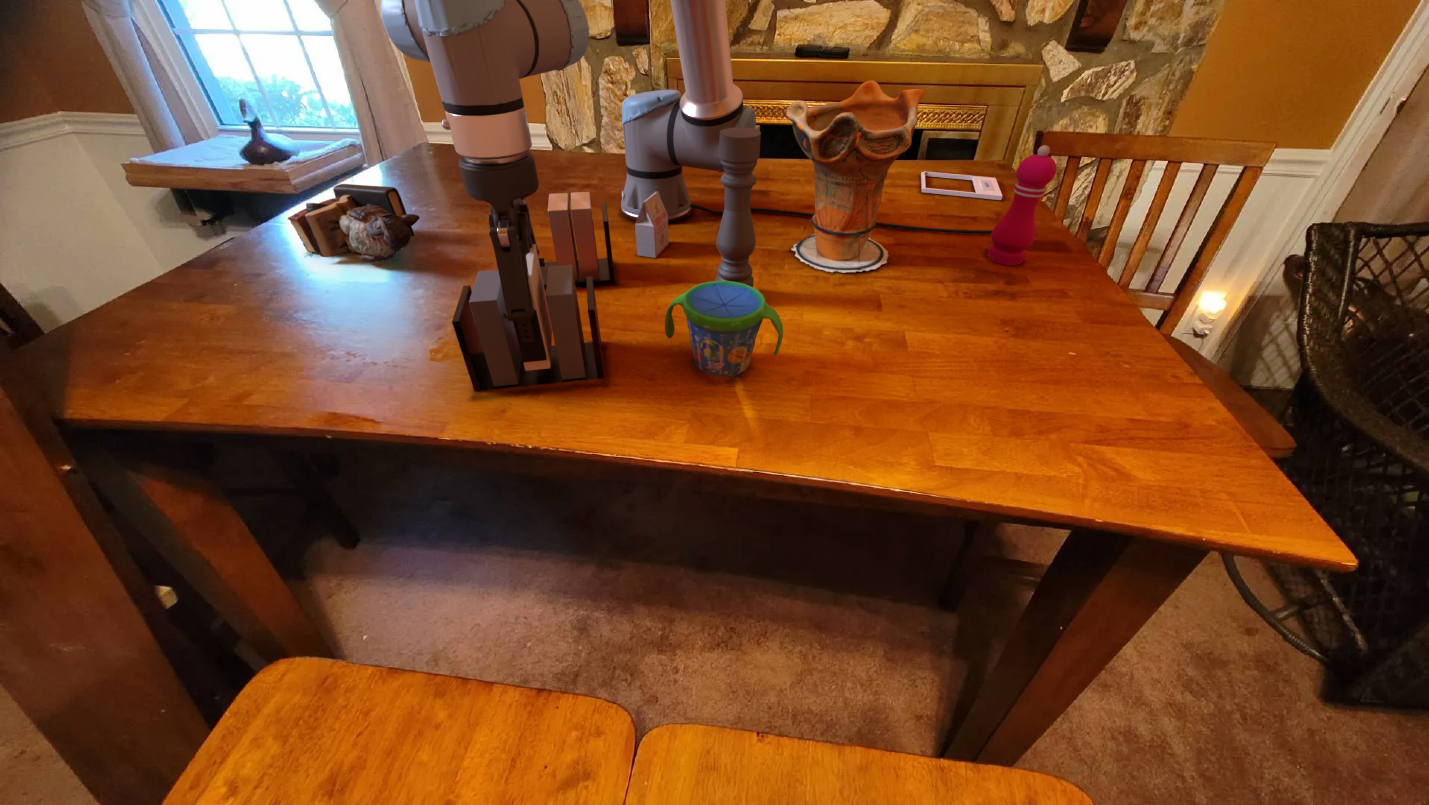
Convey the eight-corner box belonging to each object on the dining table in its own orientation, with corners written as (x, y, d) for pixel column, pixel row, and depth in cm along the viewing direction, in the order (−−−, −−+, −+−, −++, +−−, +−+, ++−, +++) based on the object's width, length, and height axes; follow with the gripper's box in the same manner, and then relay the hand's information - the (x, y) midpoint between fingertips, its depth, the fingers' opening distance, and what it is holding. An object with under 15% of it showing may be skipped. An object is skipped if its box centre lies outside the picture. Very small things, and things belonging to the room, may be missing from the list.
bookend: (341, 182, 106) (443, 183, 98) (365, 238, 112) (463, 243, 104) (268, 204, 95) (376, 208, 87) (300, 265, 101) (404, 273, 93)
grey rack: (602, 346, 79) (592, 275, 72) (604, 384, 72) (594, 309, 65) (484, 358, 76) (463, 285, 69) (476, 397, 70) (451, 321, 63)
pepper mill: (1025, 254, 106) (1069, 143, 94) (1024, 269, 101) (1070, 153, 88) (985, 248, 108) (1022, 137, 96) (982, 262, 103) (1021, 147, 91)
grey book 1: (522, 350, 76) (503, 269, 69) (518, 384, 70) (496, 299, 63) (500, 352, 76) (477, 271, 68) (493, 387, 70) (468, 302, 62)
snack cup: (787, 357, 78) (795, 291, 71) (765, 400, 70) (771, 331, 63) (685, 334, 82) (684, 270, 75) (654, 373, 74) (649, 305, 68)
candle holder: (726, 308, 88) (731, 140, 72) (708, 292, 92) (709, 129, 77) (759, 300, 90) (771, 135, 75) (740, 284, 95) (748, 125, 79)
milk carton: (637, 255, 103) (633, 201, 97) (651, 241, 108) (648, 189, 102) (655, 257, 103) (652, 203, 96) (668, 244, 108) (666, 191, 101)
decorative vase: (755, 256, 104) (766, 86, 86) (824, 223, 117) (846, 71, 100) (851, 292, 93) (885, 107, 75) (915, 252, 106) (957, 86, 89)
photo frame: (1002, 195, 129) (922, 187, 133) (1001, 200, 130) (921, 192, 134) (995, 177, 140) (922, 170, 144) (994, 181, 141) (921, 174, 145)
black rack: (612, 262, 101) (604, 189, 93) (615, 284, 94) (607, 208, 86) (509, 269, 98) (492, 195, 90) (505, 293, 91) (485, 215, 83)
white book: (552, 326, 76) (535, 243, 69) (550, 368, 69) (531, 280, 61) (530, 328, 76) (510, 245, 68) (525, 371, 68) (502, 282, 61)
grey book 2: (584, 344, 78) (572, 264, 70) (585, 377, 71) (572, 293, 64) (562, 346, 77) (547, 266, 70) (562, 379, 71) (545, 295, 63)
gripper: (471, 127, 65) (513, 296, 79) (436, 192, 48) (498, 393, 62) (537, 125, 66) (567, 292, 80) (526, 187, 49) (566, 385, 63)
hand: (537, 336), depth 71 cm, fingers closed on white book, 10 cm apart
